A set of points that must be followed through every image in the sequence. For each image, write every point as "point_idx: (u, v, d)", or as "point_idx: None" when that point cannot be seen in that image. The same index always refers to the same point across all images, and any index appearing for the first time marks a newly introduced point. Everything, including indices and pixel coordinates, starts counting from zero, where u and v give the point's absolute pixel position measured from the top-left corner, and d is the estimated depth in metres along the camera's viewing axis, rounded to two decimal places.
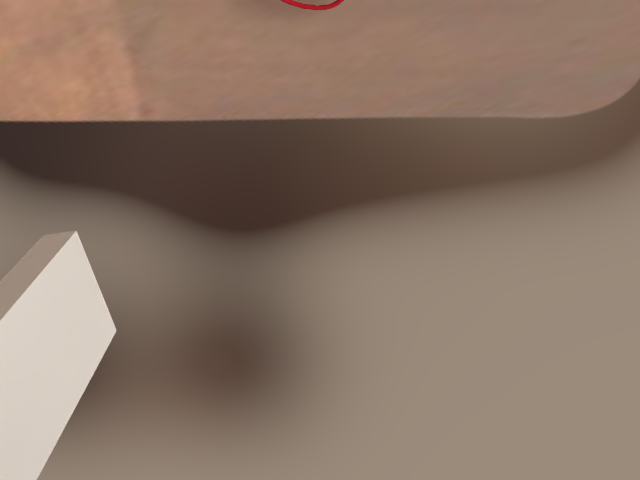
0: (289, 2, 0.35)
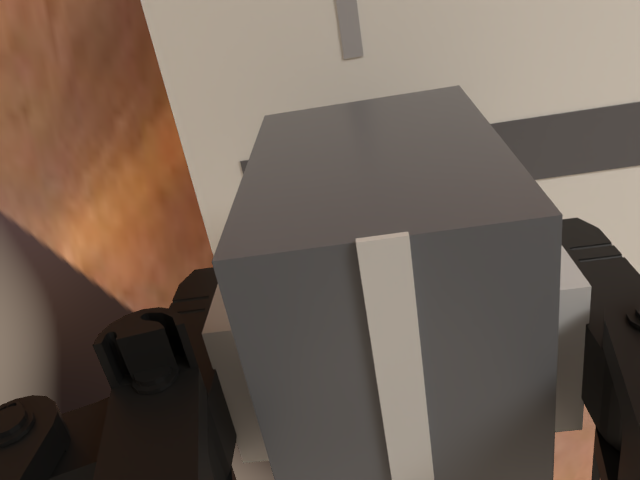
0: None
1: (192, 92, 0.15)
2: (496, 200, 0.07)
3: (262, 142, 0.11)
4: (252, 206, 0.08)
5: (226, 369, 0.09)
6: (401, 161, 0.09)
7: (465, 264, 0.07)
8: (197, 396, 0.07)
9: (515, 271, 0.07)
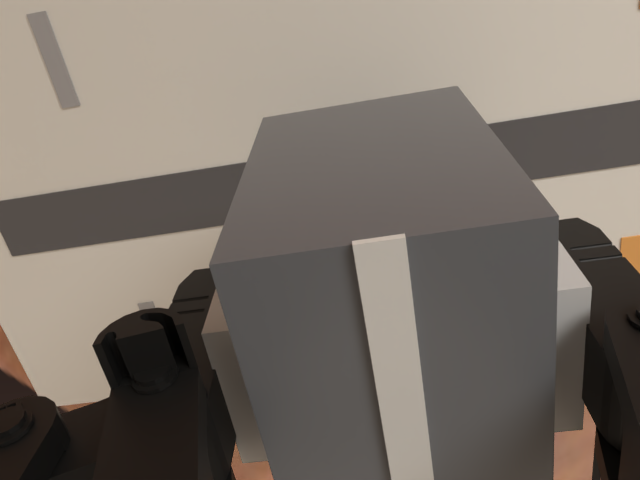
0: None
1: None
2: (493, 201, 0.07)
3: (260, 144, 0.11)
4: (249, 209, 0.08)
5: (225, 369, 0.09)
6: (399, 162, 0.09)
7: (462, 266, 0.07)
8: (197, 396, 0.07)
9: (511, 272, 0.07)
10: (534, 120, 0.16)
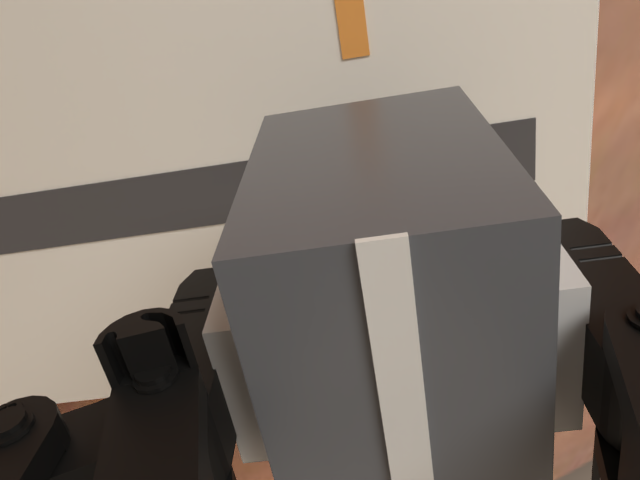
0: None
1: None
2: (496, 200, 0.07)
3: (262, 142, 0.11)
4: (252, 206, 0.08)
5: (226, 369, 0.09)
6: (401, 160, 0.09)
7: (464, 264, 0.07)
8: (197, 396, 0.07)
9: (514, 271, 0.07)
10: None
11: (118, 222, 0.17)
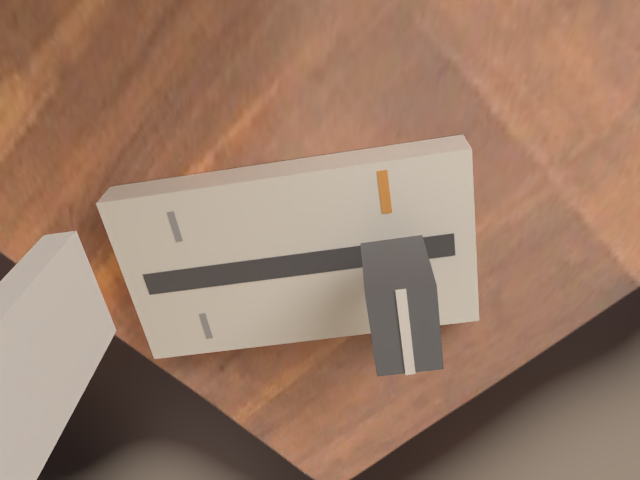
0: None
1: (123, 252, 0.43)
2: (424, 281, 0.33)
3: (363, 256, 0.36)
4: (368, 280, 0.34)
5: None
6: (404, 267, 0.34)
7: (417, 295, 0.33)
8: None
9: (428, 296, 0.33)
10: (351, 248, 0.42)
11: (290, 270, 0.43)
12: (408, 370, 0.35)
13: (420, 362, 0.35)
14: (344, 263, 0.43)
